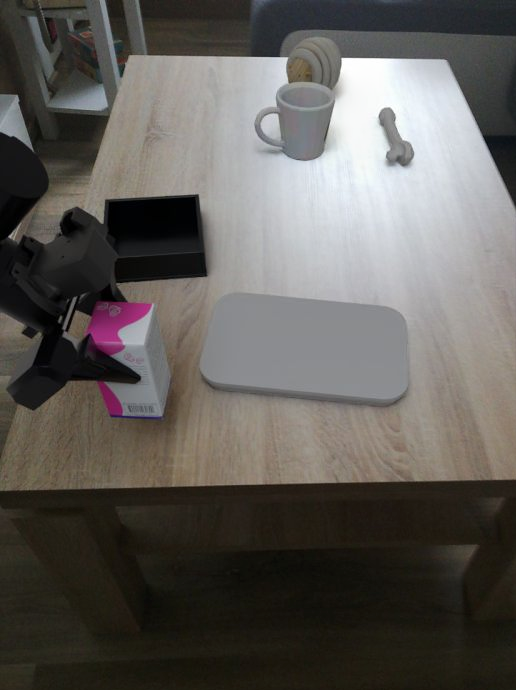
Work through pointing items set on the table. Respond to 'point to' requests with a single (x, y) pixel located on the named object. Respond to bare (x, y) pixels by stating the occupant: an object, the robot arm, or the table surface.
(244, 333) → the tablet
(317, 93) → the mug
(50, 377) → the robot arm
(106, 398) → the supplement box
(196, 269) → the black open box
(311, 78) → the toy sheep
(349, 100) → the table surface
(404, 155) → the bone
